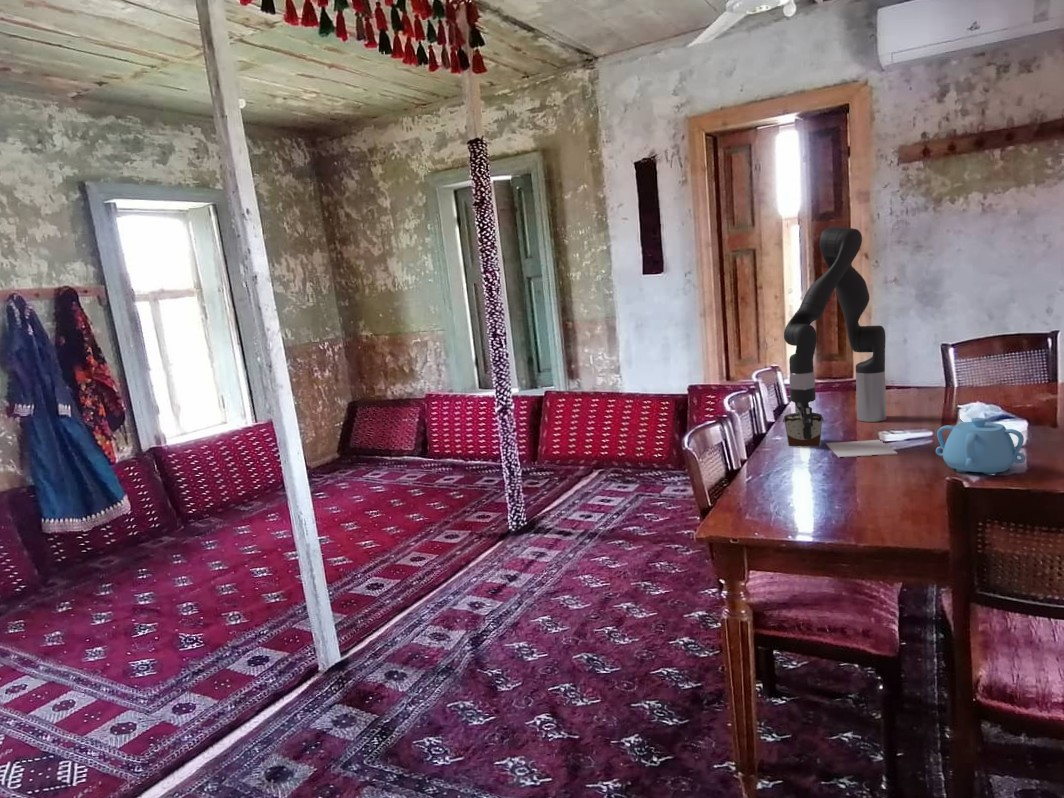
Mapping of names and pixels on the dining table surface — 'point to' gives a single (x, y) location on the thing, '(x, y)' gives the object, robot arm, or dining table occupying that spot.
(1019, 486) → the dining table surface
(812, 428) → the food container
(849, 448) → the mat
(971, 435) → the decorative pot
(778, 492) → the dining table surface
